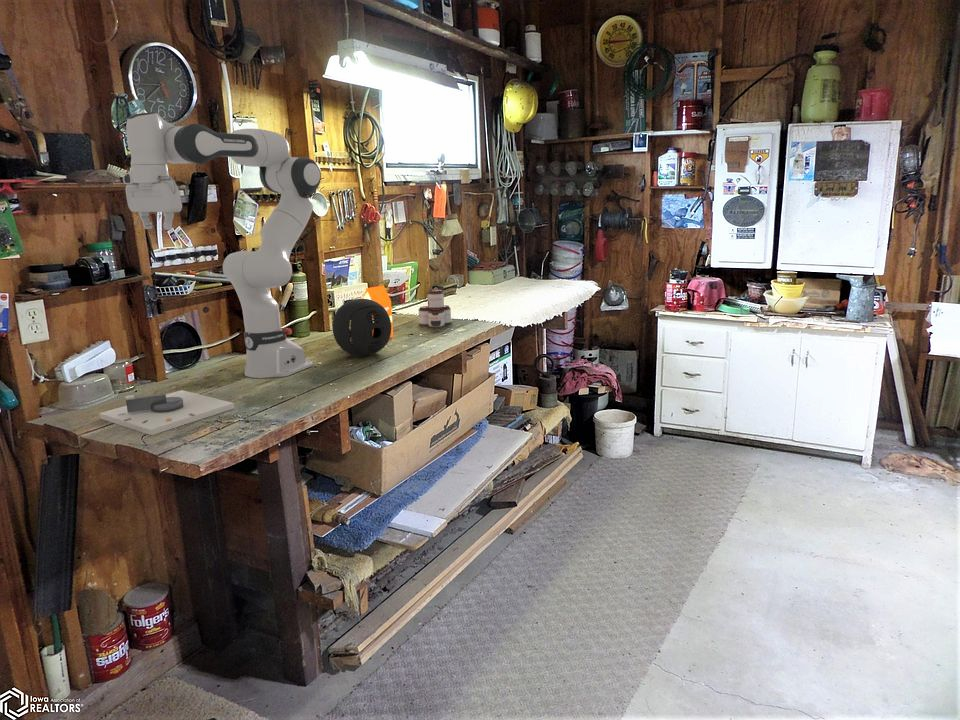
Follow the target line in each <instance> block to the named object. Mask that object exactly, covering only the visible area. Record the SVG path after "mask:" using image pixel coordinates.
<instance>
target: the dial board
mask: <svg viewBox="0 0 960 720" xmlns="http://www.w3.org/2000/svg"><path fill="white" fill-rule="evenodd" d="M165 394H166V397H180V398H182V399H183V407H181V408H179V409H176V410H172V411H166V412H155V411H152V410H144V411H137V412H130V413H128V411H127V405H123V406H120V407H117V408H114V409H109V410H106V411H102V412H99V419H100V420H103V421H107V422H110V423H112V424H115V425H118V426H122V427H123V428H124V427H125V428H127V429H131V430H134V431H137V432H140V433H142V434H145V435H149V436H153V435H156V434H160V433H162V432H166V431H169V430H172V429H175V428H177V427H181V425H182V426H184V424H185V425H187V424H191V423H193V422H197V421H200V420H203V419H206V418H209V417H212V416H215V415H219V414H221V413H225V412H228V411H230V410H233V409H235V404H234V402H230V401H227V400H223V399H219V398H214V397H211V396H206V395H203V394H199V393H195V392H192V391H187V390H183V389H181V390H177V391H174V392H169V393H165Z"/></svg>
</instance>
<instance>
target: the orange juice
mask: <svg viewBox="0 0 960 720" xmlns="http://www.w3.org/2000/svg"><path fill="white" fill-rule="evenodd" d="M362 299H370V300H373V301H376V302H377V303H379V304H380V305H382V306H383V307H384V308H385V310H386V311H387V313H388V315H389V317H390V320H391V335H390V338H393V337H394V332H393V331H394V329H393V314H392V313H393V312H392V311H393V310H392V300H391V298H390V296H389V293H388V292H387V289H386V287H385V285H380V286H372V287H366V289H365V291H364V294H363V295H362ZM372 317H373V315H372ZM373 323H374V321H373ZM372 336H373V334H372Z"/></svg>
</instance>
